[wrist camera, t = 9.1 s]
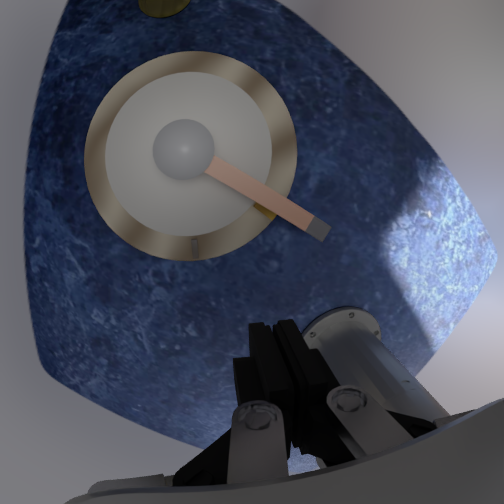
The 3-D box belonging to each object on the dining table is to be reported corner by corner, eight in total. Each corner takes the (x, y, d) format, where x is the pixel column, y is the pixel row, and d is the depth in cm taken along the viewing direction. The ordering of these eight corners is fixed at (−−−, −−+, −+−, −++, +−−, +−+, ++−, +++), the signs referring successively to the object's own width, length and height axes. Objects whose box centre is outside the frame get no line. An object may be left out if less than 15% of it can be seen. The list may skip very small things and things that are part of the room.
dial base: (331, 137, 31) (337, 135, 30) (212, 293, 34) (213, 300, 32) (173, 24, 25) (171, 17, 23) (56, 185, 28) (48, 186, 26)
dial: (84, 187, 27) (61, 192, 22) (163, 52, 25) (155, 31, 20) (269, 287, 33) (281, 309, 28) (346, 161, 31) (372, 161, 25)
